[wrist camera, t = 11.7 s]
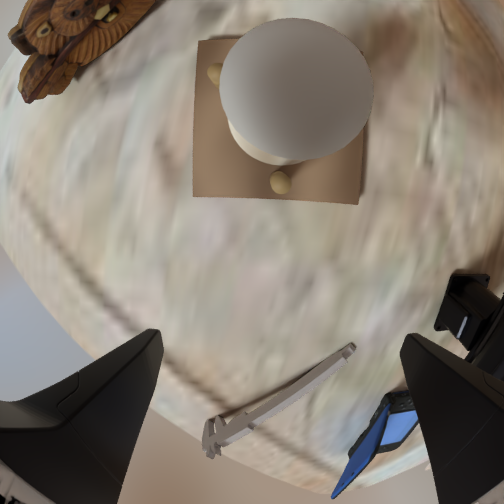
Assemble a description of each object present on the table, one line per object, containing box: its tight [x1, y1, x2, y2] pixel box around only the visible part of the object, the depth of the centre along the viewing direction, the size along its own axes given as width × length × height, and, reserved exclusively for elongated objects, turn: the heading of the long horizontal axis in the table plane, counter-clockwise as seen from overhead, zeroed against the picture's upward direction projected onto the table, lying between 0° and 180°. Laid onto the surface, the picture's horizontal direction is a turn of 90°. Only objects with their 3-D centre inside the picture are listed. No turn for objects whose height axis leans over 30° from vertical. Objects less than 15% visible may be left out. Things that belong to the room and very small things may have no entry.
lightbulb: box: [219, 18, 374, 160], centre depth 12 cm, size 6×6×11 cm
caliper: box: [202, 344, 355, 459], centre depth 25 cm, size 20×1×6 cm, turn 131°
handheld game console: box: [331, 391, 419, 499], centre depth 26 cm, size 16×13×9 cm
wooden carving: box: [8, 0, 156, 104], centre depth 11 cm, size 16×5×10 cm, turn 135°
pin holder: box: [193, 39, 364, 205], centre depth 16 cm, size 12×12×4 cm
